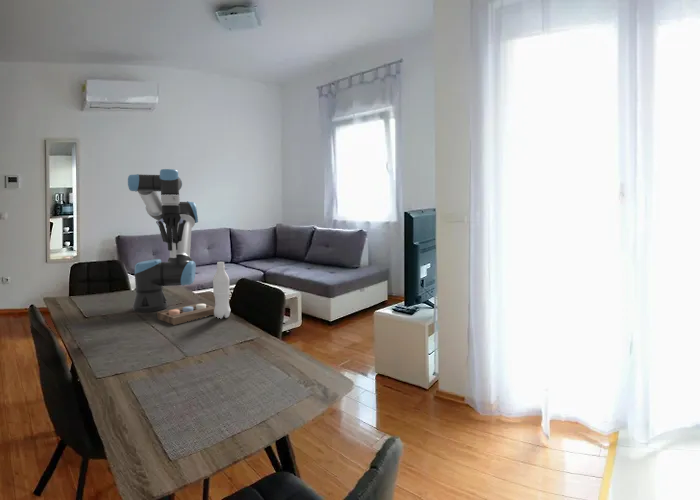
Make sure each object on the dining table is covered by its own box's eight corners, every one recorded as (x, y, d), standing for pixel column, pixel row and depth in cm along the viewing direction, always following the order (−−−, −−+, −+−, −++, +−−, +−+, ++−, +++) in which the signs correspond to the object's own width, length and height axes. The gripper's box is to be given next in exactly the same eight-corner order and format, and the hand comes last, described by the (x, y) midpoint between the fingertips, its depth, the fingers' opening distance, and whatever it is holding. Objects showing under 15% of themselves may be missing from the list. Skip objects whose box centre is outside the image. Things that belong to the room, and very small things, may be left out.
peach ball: (167, 319, 181) (166, 310, 180) (176, 317, 184) (176, 308, 184) (172, 321, 178) (171, 312, 177) (181, 319, 181) (181, 310, 181)
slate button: (181, 316, 186) (180, 307, 185) (190, 314, 189) (189, 305, 189) (186, 318, 183) (185, 309, 182) (195, 316, 186) (195, 307, 186)
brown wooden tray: (157, 318, 182) (157, 312, 182) (200, 309, 199) (200, 303, 198) (174, 324, 174) (173, 318, 173) (217, 314, 190) (217, 307, 189)
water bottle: (233, 315, 188) (231, 261, 185) (227, 319, 181) (225, 263, 178) (218, 314, 189) (216, 260, 186) (211, 319, 182) (209, 263, 179)
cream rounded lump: (194, 313, 191) (193, 305, 190) (202, 311, 194) (202, 303, 194) (199, 315, 188) (199, 306, 188) (208, 313, 191) (207, 304, 191)
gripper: (160, 205, 175) (163, 260, 178) (188, 204, 185) (191, 256, 188) (151, 204, 180) (154, 258, 183) (180, 204, 190) (182, 255, 193)
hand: (173, 257), depth 186 cm, fingers closed
